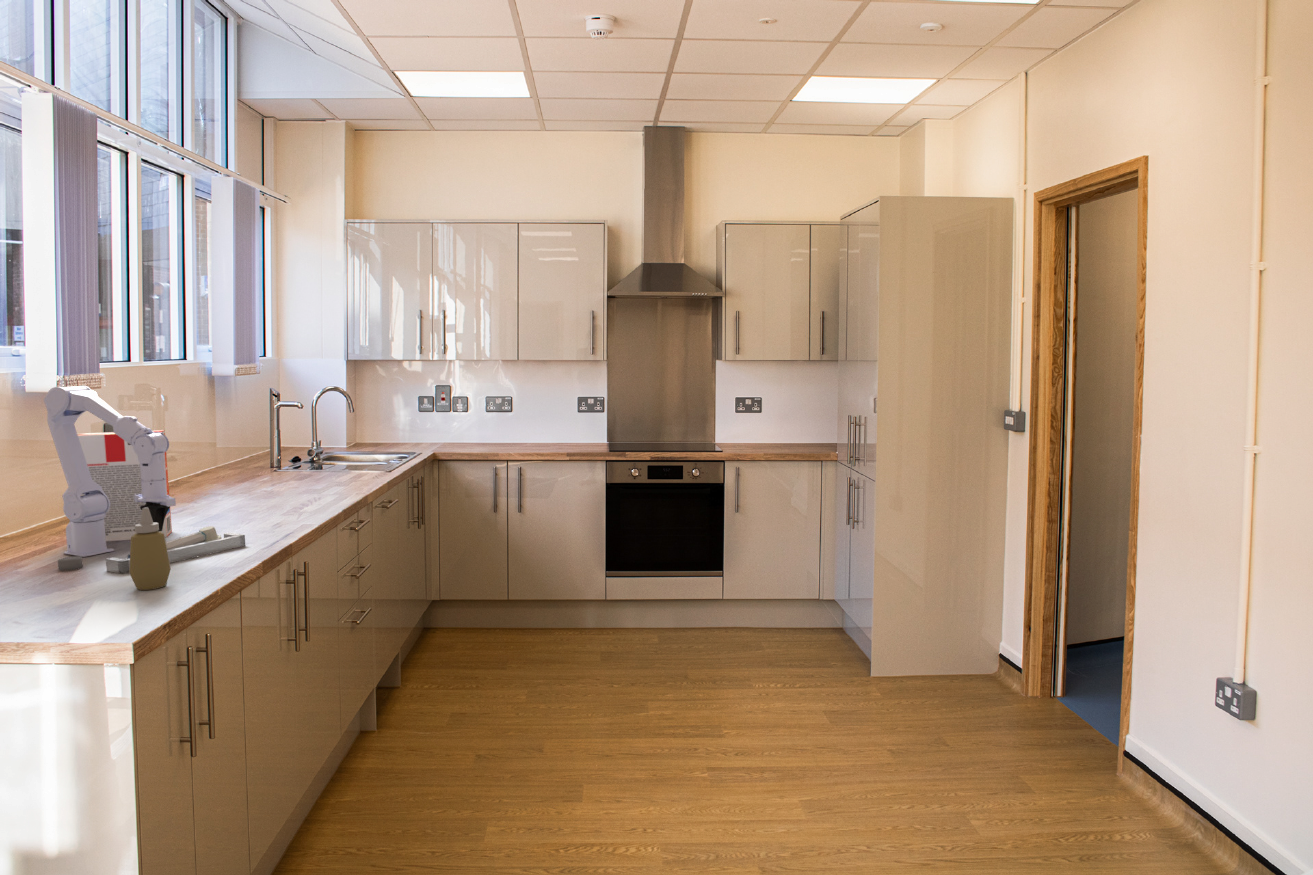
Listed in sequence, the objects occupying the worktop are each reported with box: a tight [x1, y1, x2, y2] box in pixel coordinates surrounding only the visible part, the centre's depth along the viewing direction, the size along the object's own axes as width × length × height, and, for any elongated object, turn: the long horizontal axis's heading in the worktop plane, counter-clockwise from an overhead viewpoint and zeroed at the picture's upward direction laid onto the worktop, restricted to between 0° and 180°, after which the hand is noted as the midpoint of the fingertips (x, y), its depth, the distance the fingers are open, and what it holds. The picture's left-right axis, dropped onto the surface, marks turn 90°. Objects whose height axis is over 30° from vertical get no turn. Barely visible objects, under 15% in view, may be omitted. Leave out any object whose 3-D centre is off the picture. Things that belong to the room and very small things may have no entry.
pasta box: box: [77, 429, 173, 542], centre depth 256 cm, size 23×8×30 cm, turn 109°
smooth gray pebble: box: [57, 555, 84, 572], centre depth 221 cm, size 5×5×2 cm
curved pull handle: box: [105, 532, 246, 575], centre depth 230 cm, size 7×33×3 cm, turn 151°
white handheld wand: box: [126, 525, 222, 559], centre depth 231 cm, size 5×7×25 cm
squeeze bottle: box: [129, 508, 172, 591], centre depth 201 cm, size 8×8×18 cm
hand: (156, 531), depth 234 cm, fingers closed
